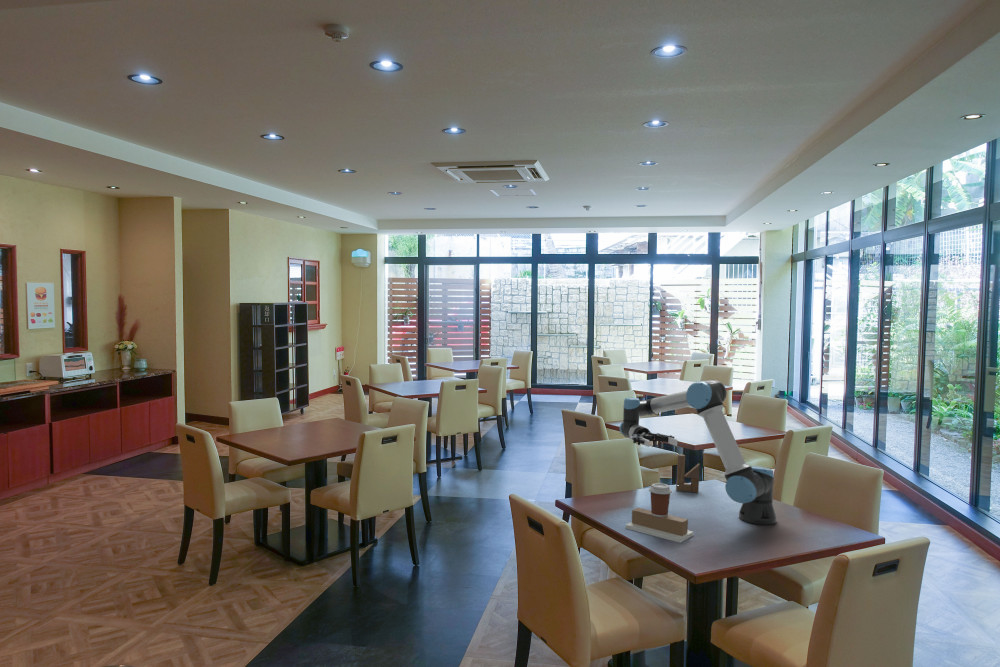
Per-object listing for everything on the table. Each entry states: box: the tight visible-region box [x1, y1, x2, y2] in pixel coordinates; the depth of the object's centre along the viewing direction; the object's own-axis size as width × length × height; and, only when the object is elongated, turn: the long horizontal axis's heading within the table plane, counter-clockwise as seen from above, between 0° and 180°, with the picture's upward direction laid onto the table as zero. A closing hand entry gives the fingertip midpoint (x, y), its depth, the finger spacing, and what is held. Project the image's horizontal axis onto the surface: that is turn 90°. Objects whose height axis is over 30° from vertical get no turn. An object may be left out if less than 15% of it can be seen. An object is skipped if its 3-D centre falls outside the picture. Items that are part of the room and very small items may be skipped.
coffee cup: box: [648, 482, 673, 517], centre depth 263 cm, size 9×9×12 cm
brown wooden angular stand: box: [675, 454, 700, 494], centre depth 327 cm, size 4×11×18 cm, turn 76°
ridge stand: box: [624, 507, 694, 544], centre depth 263 cm, size 24×12×7 cm, turn 50°
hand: (662, 443), depth 284 cm, fingers open, 13 cm apart
